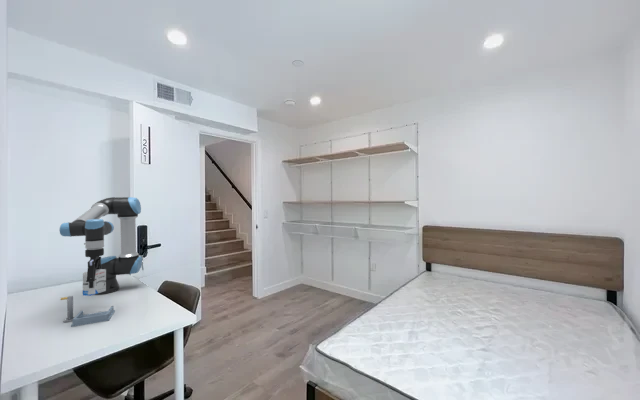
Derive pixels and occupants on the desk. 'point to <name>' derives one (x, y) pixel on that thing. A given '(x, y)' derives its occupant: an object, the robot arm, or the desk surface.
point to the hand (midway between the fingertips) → (94, 291)
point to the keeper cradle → (86, 318)
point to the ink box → (99, 282)
